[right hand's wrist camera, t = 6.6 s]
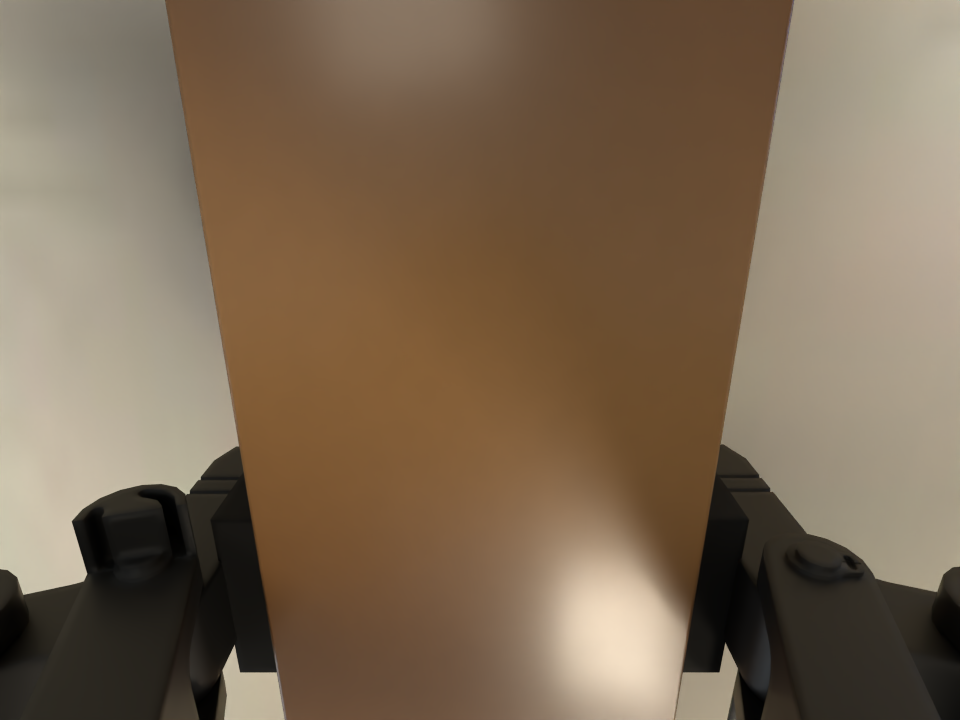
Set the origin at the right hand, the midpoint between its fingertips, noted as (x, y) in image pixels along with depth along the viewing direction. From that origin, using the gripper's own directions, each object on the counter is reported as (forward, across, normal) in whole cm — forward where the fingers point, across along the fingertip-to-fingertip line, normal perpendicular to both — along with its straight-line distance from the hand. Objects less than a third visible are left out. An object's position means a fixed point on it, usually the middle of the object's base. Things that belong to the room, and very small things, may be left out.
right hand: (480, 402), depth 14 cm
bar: (+1, 0, -26) cm, 26 cm away
